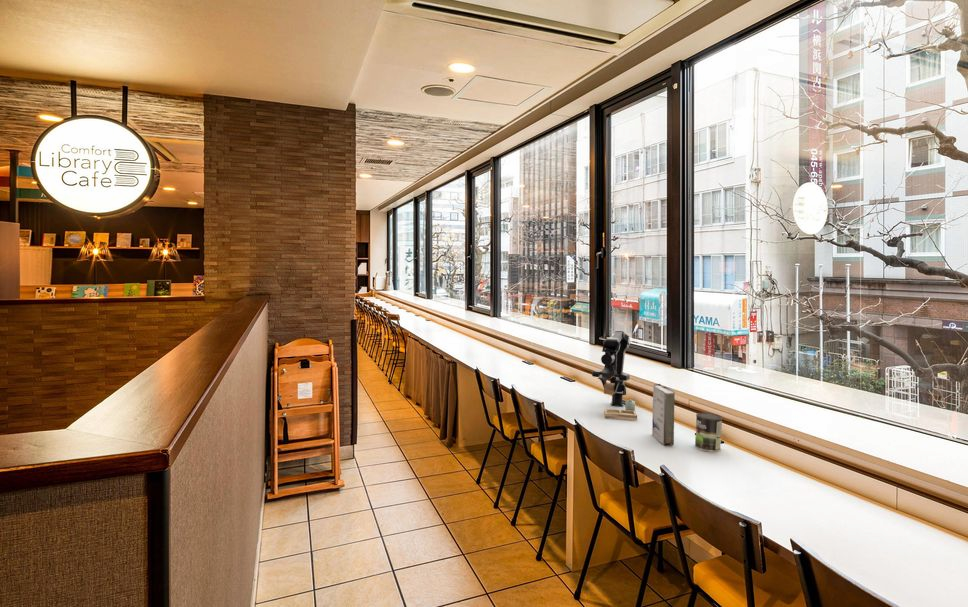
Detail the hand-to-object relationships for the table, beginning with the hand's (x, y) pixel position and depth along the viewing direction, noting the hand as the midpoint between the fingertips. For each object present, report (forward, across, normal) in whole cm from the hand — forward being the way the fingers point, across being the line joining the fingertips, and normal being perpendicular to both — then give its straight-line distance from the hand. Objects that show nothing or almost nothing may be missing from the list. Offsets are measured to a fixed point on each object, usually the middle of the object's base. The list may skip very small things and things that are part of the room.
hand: (610, 391), depth 272 cm
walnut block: (+1, 0, 0) cm, 1 cm away
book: (+12, +35, -29) cm, 47 cm away
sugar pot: (+11, +9, +6) cm, 16 cm away
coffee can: (+12, +54, -28) cm, 62 cm away
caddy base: (+11, +8, -5) cm, 15 cm away
